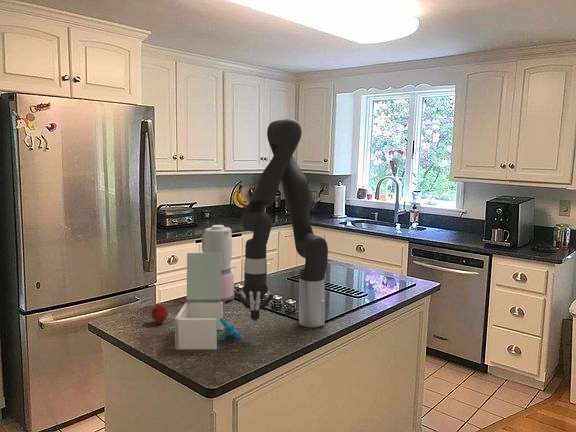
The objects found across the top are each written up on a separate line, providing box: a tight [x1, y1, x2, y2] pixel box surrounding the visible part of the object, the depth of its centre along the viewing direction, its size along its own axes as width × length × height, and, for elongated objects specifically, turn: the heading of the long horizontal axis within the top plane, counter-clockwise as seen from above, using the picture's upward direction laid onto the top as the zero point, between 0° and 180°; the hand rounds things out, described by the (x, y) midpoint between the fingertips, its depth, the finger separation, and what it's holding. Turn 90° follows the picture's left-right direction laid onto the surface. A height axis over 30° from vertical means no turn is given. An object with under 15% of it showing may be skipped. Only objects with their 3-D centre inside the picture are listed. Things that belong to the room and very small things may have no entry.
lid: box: [186, 252, 221, 302], centre depth 168 cm, size 12×17×1 cm
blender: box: [201, 224, 235, 305], centre depth 201 cm, size 16×12×32 cm
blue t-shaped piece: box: [219, 317, 243, 341], centre depth 161 cm, size 11×6×10 cm
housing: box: [173, 301, 224, 350], centre depth 161 cm, size 13×17×10 cm
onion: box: [150, 301, 169, 324], centre depth 175 cm, size 6×6×8 cm
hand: (254, 319), depth 161 cm, fingers closed
